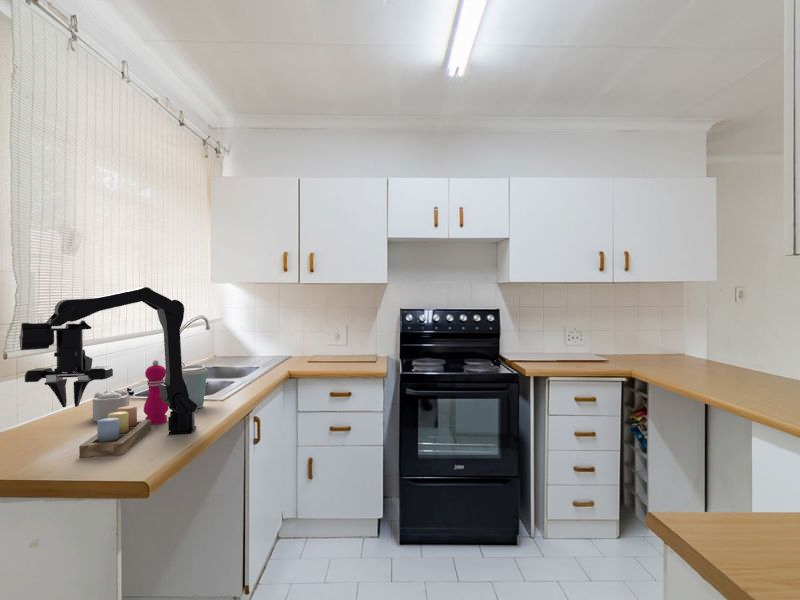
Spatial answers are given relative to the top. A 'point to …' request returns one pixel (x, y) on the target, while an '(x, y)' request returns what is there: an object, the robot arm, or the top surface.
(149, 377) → the pepper mill
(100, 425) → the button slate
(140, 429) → the wooden compartment tray
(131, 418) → the salmon rounded lump
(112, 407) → the lumpy-topped squat cylinder
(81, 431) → the top surface
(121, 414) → the button ochre
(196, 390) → the disposable coffee cup
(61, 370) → the robot arm
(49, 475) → the top surface
